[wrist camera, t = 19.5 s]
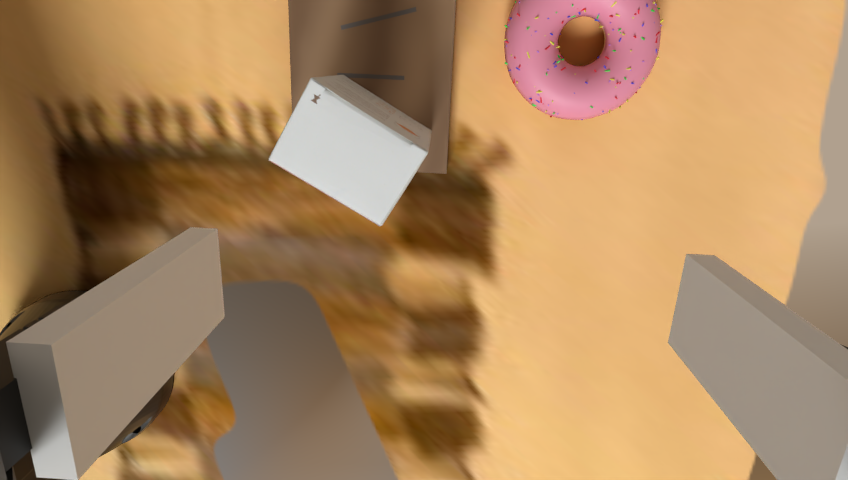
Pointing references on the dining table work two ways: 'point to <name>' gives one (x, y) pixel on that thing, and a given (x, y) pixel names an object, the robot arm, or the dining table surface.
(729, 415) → the robot arm
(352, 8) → the board
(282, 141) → the small box
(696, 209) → the dining table surface
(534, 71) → the doughnut
